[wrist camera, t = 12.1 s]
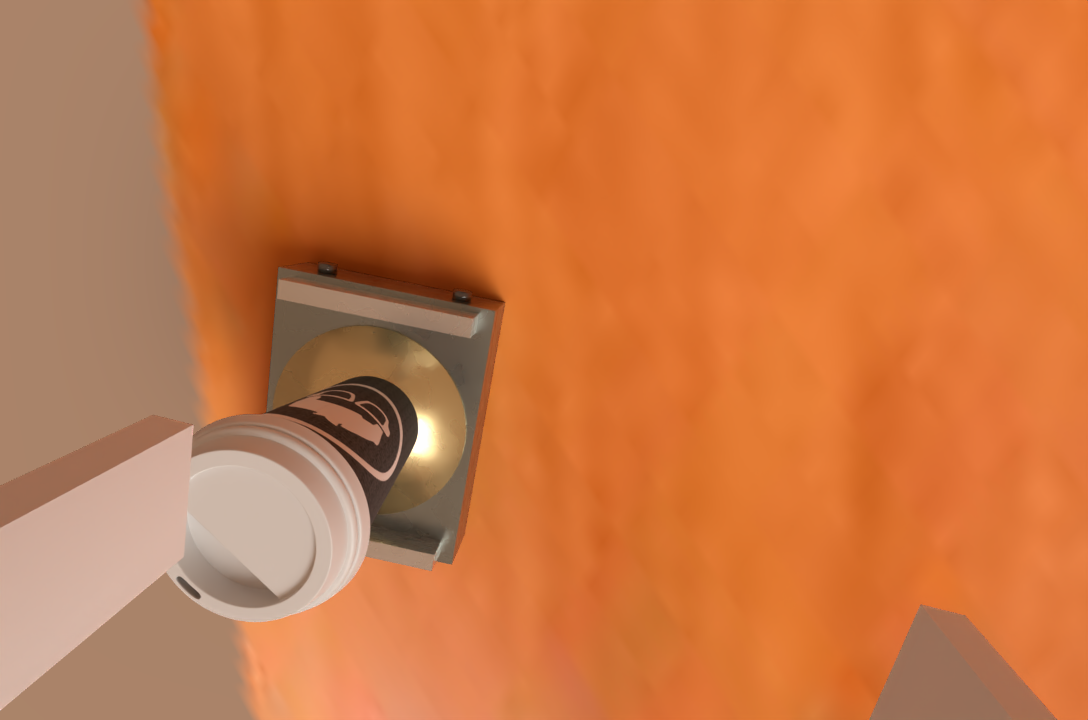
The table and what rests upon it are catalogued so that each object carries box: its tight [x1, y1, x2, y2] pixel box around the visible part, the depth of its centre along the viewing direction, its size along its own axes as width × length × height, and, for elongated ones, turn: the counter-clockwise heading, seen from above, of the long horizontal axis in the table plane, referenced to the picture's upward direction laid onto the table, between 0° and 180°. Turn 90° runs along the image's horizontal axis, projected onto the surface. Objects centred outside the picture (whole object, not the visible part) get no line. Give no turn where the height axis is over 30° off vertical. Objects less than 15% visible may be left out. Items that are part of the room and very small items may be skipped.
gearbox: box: [266, 262, 505, 571], centre depth 41 cm, size 19×14×6 cm
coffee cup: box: [166, 376, 418, 622], centre depth 33 cm, size 10×10×15 cm
